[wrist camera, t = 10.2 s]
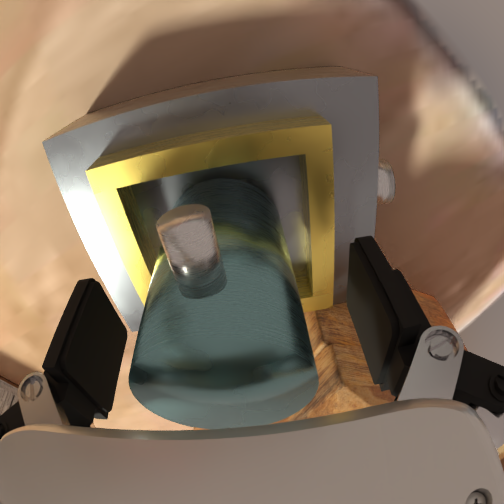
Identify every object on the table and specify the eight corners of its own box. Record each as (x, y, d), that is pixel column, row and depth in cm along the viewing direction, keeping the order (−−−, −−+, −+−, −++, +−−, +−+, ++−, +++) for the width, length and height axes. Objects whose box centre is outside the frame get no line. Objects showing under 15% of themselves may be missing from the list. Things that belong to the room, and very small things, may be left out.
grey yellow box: (85, 114, 15) (24, 154, 10) (366, 65, 14) (431, 83, 9) (145, 277, 22) (127, 351, 17) (365, 244, 21) (401, 311, 16)
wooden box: (288, 242, 21) (337, 451, 10) (441, 295, 26) (506, 421, 15) (180, 420, 37) (177, 517, 26) (291, 432, 42) (302, 517, 31)
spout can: (143, 150, 12) (54, 289, 5) (268, 127, 12) (321, 250, 5) (185, 280, 16) (167, 432, 9) (285, 265, 16) (316, 419, 9)
